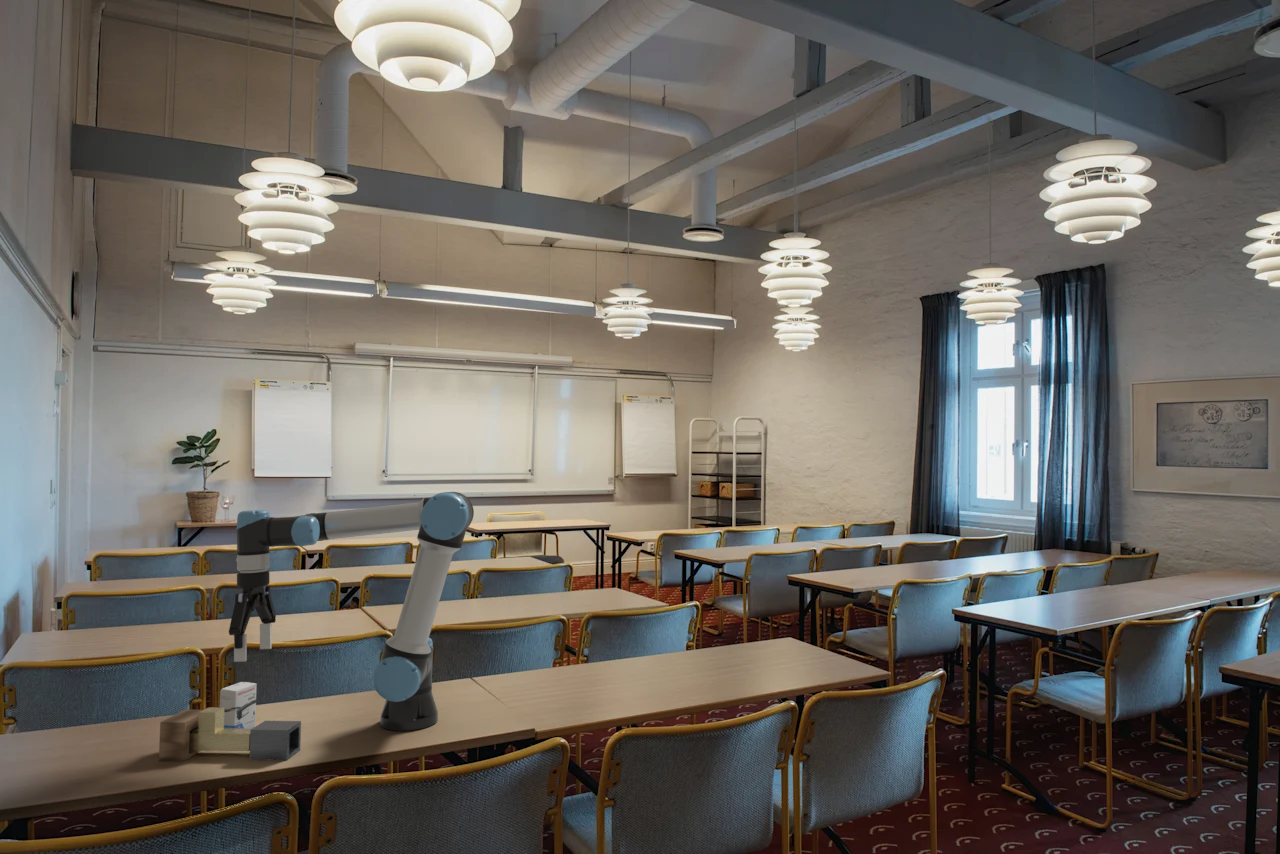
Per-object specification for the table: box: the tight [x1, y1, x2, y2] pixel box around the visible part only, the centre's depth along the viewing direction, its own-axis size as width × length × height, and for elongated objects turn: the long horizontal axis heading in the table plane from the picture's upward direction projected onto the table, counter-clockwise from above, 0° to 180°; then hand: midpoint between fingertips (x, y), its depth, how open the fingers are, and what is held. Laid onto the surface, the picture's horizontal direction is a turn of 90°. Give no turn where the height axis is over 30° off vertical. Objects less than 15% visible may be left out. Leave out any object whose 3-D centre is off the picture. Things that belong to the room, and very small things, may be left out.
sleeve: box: [249, 720, 302, 761], centre depth 193 cm, size 9×7×7 cm
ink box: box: [219, 681, 257, 729], centre depth 210 cm, size 8×5×12 cm, turn 168°
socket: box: [158, 709, 204, 762], centre depth 194 cm, size 6×10×9 cm, turn 179°
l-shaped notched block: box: [189, 706, 252, 752], centre depth 193 cm, size 17×4×9 cm, turn 89°
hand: (253, 654), depth 202 cm, fingers open, 13 cm apart
